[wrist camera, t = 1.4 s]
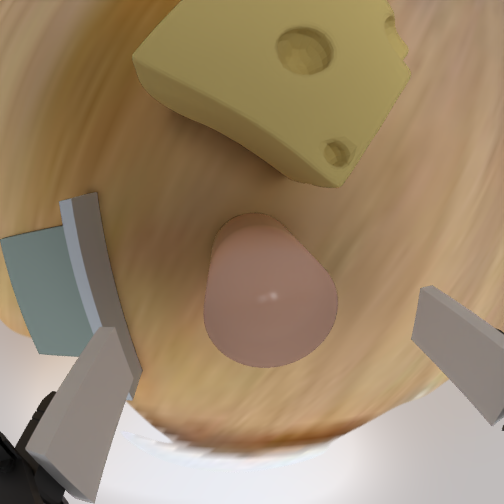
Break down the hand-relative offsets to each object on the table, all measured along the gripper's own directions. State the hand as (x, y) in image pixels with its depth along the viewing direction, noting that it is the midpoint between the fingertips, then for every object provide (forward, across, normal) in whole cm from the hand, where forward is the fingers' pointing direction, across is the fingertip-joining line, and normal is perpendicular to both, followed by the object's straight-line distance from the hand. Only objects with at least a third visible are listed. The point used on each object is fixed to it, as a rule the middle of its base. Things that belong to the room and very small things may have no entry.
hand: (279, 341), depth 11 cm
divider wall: (+10, -12, -2) cm, 16 cm away
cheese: (+11, +2, +12) cm, 17 cm away
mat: (+10, -18, -2) cm, 21 cm away
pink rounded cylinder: (+11, 0, 0) cm, 11 cm away
